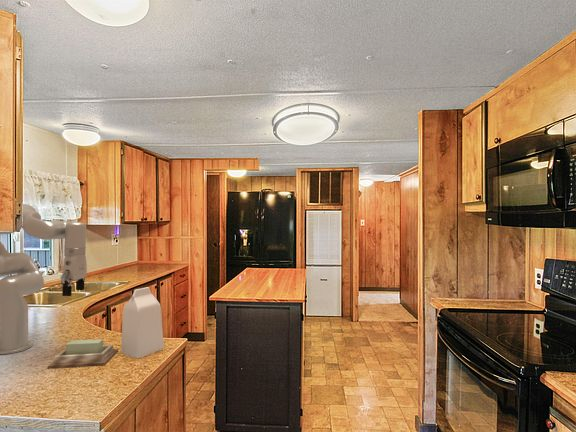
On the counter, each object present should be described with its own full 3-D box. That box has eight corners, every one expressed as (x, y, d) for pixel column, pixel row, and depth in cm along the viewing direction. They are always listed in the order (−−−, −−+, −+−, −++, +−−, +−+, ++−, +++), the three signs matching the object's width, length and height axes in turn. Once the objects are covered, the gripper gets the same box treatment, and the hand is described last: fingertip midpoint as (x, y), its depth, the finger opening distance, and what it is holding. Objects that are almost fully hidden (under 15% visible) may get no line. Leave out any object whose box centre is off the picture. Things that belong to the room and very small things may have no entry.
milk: (138, 358, 131) (137, 293, 131) (121, 352, 137) (120, 289, 137) (163, 348, 141) (163, 287, 141) (147, 343, 147) (146, 284, 147)
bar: (98, 358, 129) (98, 343, 129) (66, 359, 128) (65, 344, 128) (103, 354, 133) (103, 339, 133) (72, 355, 132) (71, 340, 132)
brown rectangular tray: (47, 368, 123) (47, 359, 123) (66, 354, 136) (66, 345, 136) (104, 365, 125) (104, 356, 125) (118, 351, 138) (118, 343, 138)
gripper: (72, 254, 129) (71, 298, 129) (94, 249, 146) (93, 288, 146) (52, 254, 128) (51, 298, 129) (76, 249, 146) (75, 288, 146)
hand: (73, 292), depth 138 cm, fingers open, 9 cm apart
